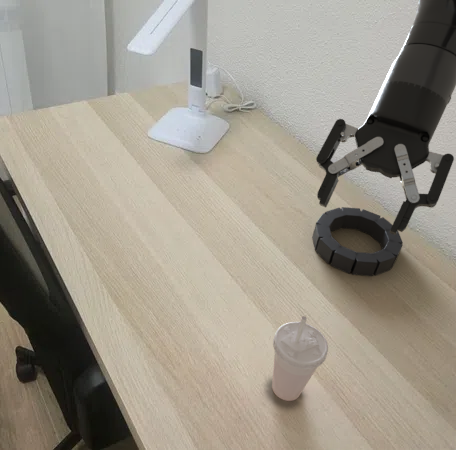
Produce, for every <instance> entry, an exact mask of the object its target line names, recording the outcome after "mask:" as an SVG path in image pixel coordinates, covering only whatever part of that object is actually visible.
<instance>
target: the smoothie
mask: <svg viewBox="0 0 456 450" xmlns="http://www.w3.org/2000/svg"><path fill="white" fill-rule="evenodd" d="M306 322H307V316H306V315H305V316H304V315H302V316H301V318H300V321H290V322H286V323H283V324H282V325H281V326H279V327H278V328H277V329H276V331H275V334H274V336H273V338H272V347H273V350H274V355H273V370H272V382H271V389H272V392H273V394H275V396H276V397H277V398H279V399H280V400H283V401H288V402H291V401H292V402H293V401H295V400H297V399H298V398H299V397H300V396H301V394H302V392H303V391H304V390H305V387H306V386H307V384H308V383H309V381H310V380H311V378H312V376H313V375H314V374H315V372H316V370H317V369H318V367H320V366H321V365H323V364H324V362H325V361H326V359H327V357H328V352H329V343H328V341H327V338H326V337H325V336H324V333H322V331H320V330H319V329H318V328H316V327H315V326H314V325H311V324H309V323H306Z"/></svg>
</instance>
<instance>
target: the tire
mask: <svg viewBox="0 0 456 450" xmlns="http://www.w3.org/2000/svg"><path fill="white" fill-rule="evenodd" d="M392 225H393V223H391V222H390V221H389V220H388V219H386V218H385V217H384V216H382V217H381V215H379V214H377V213H374V212H372V211H369V210H366V209H365V208H362V209H361V208H358V207H346V206H345V207H344V206H342V207H336V208H333V209H330V210H326V211H324V212H322V214H321V216H320V217H319V218H318V219H317V221H316V222H315V225H314V228H313V233H312V237H311V239H312V244H313V248H314V251H315V252H316V253H317V255H318V256H320V258H321V259H323V261H325V262H326V264H328V265H330V266H331V267H333V268H335V269H337V270H339V271H341V272H345V273H346V274H352V275H353V276H368V277H373V276H379V275H381V274H384V273H386V272H389V271H391V270H392V269H393V267H394V265H395V263H396V261H397V259H398V257H399V255H400V252H401V250H402V248H403V246H404V244H403V240H402V237H401V234H400V231H397V233H396V235H394V234H392V233H390V230H391V227H392ZM340 229H350V230H357V231H360V232H362V233H365V234H367V235H370V236H371V237H372V238H373V239H374V240H375V241H376V242H378V243H379V245H380V248H381V249H380V250H377V251H374V252H361V251H356V250H353V249H350V248H348V247H346V246H343V245H341V244H340V242H339V241H337V240H336V239H335V238H334V237H333V236H332V232H334V231H337V230H340Z"/></svg>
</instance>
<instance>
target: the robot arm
mask: <svg viewBox="0 0 456 450" xmlns="http://www.w3.org/2000/svg"><path fill="white" fill-rule="evenodd" d="M455 89H456V0H418V1H417V7H416V13H415V17H414V20H413V23H412V25H411V27H410V30H409V32H408V34H407V36H406V38H405V41H404V43H403V44H402V47H401V49H400V51H399V52H398V54H397V56H396V58H395V59H394V60H393V62H392V64H391V65H390V68H389V70H388V72H387V74H386V76H385V79H384V81H383V82H382V84H381V87H380V89H379V91H378V94H377V96H376V98H375V100H374V103H373V105H372V107H371V109H370V111H369V113H368V116H367V118H366V120H365V121H364V123H363V124H362V125H361V126H360V127H359V128H358V127H356V126H352V125H350V124H347V123H346V121H345V119H343V118H339V119H337V120H335V122H334V124H333V125H332V128H331V129H330V131H329V133H328V135H327V137H326V139H325V141H324V142H323V145H322V146H321V149H320V150H319V151H318V154H317V156H316V158H315V160H316V163H317V165H318V167H319V168H320V169H322V170H323V171H324V172H325V176H324V178H323V180H322V182H321V184H320V187H319V189H318V190H317V199H318V200H319V203H318V204H319V205H320V206H321V207H323V208H327V206H328V204H329V202H330V201H331V198H332V196H333V194H334V192H335V189H336V188H337V186H338V183H339V177H341V176H343V175H344V174H347V173H348V172H350V171H353V170H356V169H357V168H359V167H361V166H362V167H364V168H365V170H366V171H368V172H372V173H380V175H382V176H384V177H386V178H389V179H392V178H399V182H400V185H401V187H402V190H403V193H404V197H405V201H404V200H403V202H402V204H401V206H400V208H399V210H398V212H397V214H396V216H395V219H394V221H393V223H392V227H391V230H390V233H392V234H394V235H396V233H397V231H398V232H399V233H403V232H404V231H405V230H406V229H407V227H408V224H409V223H410V220H411V218H412V216H413V214H414V212H415V210H416V209H417V208H419V207H420V208H421V207H425V208H426V207H427V208H430V209H431V208H434V207H436V205H437V203H438V202H439V200H440V197H441V194H442V191H443V189H444V186H445V184H446V181H447V179H448V176H449V173H450V172H451V168H452V165H453V163H454V160H455V157H454V155H453V154H452V153H445V154H440V153H437V152H433V151H430V146H429V145H430V143H431V140H432V138H433V137H434V134H435V132H436V129H437V128H438V125H439V123H440V122H441V120H442V117H443V114H444V113H445V110H446V109H447V106H448V105H449V103H450V102H451V100H452V95H453V93H454V91H455ZM350 138H354V141H355V144H356V148H355V149H353V150H352V151H350V152H348V153H347V154H345V155H344V156H343V157H341V158H340V159H338V160H336V161H335V162H333V161H332V159H333V157H334V155H335V153H336V151H337V149H338V147H339V146H340V144H341V143H346V142H347V141H349V139H350ZM426 162H427V163H428V164H429V165H430V166H429V171H430V172H431V173H433V174H434V178H433V179H432V182H431V185H430V188H429V190H428V193H419V189H418V186H417V183H416V178H415V175H414V171H413V170H414V169H415V168H417V167H419V166H421V165H423V164H424V163H426Z"/></svg>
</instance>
